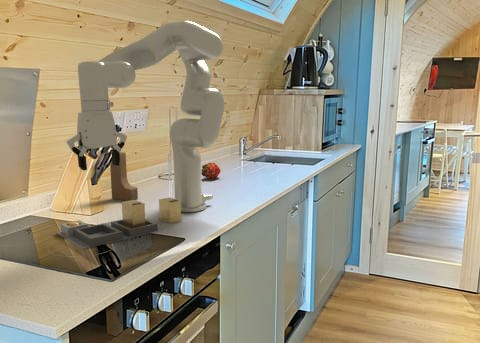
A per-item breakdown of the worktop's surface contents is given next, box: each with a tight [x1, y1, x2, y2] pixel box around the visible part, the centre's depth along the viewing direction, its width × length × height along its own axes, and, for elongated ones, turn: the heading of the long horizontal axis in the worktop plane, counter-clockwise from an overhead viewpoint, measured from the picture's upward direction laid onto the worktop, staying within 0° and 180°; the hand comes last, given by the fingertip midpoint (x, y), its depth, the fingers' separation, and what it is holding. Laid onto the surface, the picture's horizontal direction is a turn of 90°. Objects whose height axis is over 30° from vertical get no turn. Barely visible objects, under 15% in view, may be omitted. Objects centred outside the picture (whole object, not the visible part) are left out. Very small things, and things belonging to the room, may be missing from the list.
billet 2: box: [158, 197, 182, 225], centre depth 141 cm, size 4×6×8 cm, turn 42°
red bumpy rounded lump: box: [201, 162, 221, 180], centre depth 215 cm, size 8×8×12 cm
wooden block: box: [109, 151, 139, 201], centre depth 175 cm, size 9×4×18 cm, turn 70°
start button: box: [69, 221, 79, 226], centre depth 130 cm, size 3×3×2 cm
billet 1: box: [121, 199, 146, 229], centre depth 132 cm, size 4×6×8 cm, turn 42°
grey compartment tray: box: [56, 218, 163, 250], centre depth 131 cm, size 24×18×4 cm
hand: (100, 167), depth 130 cm, fingers open, 9 cm apart
